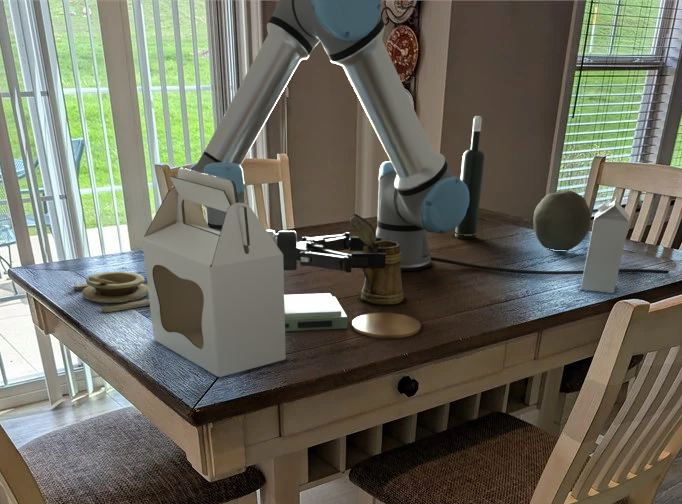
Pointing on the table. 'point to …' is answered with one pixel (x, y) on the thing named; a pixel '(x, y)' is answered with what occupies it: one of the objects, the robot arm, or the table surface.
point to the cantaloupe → (561, 220)
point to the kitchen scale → (313, 312)
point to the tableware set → (115, 289)
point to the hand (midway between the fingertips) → (383, 252)
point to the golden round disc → (386, 325)
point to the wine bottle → (472, 182)
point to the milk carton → (605, 248)
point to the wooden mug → (379, 282)
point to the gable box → (214, 279)
